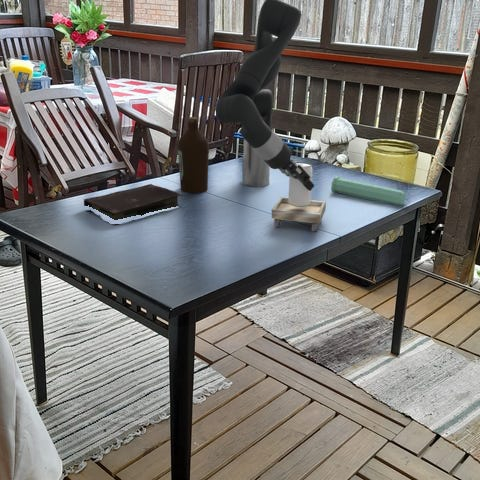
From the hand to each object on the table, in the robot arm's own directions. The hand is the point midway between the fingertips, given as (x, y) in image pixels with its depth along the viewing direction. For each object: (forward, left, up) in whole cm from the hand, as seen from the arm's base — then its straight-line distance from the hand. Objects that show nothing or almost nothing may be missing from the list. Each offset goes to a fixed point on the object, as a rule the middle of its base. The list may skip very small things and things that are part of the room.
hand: (305, 184), depth 173 cm
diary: (-53, -4, -13) cm, 55 cm away
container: (+17, +30, -12) cm, 37 cm away
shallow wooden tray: (-1, -1, -12) cm, 12 cm away
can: (-1, -1, -6) cm, 6 cm away
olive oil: (-42, +21, -12) cm, 49 cm away
